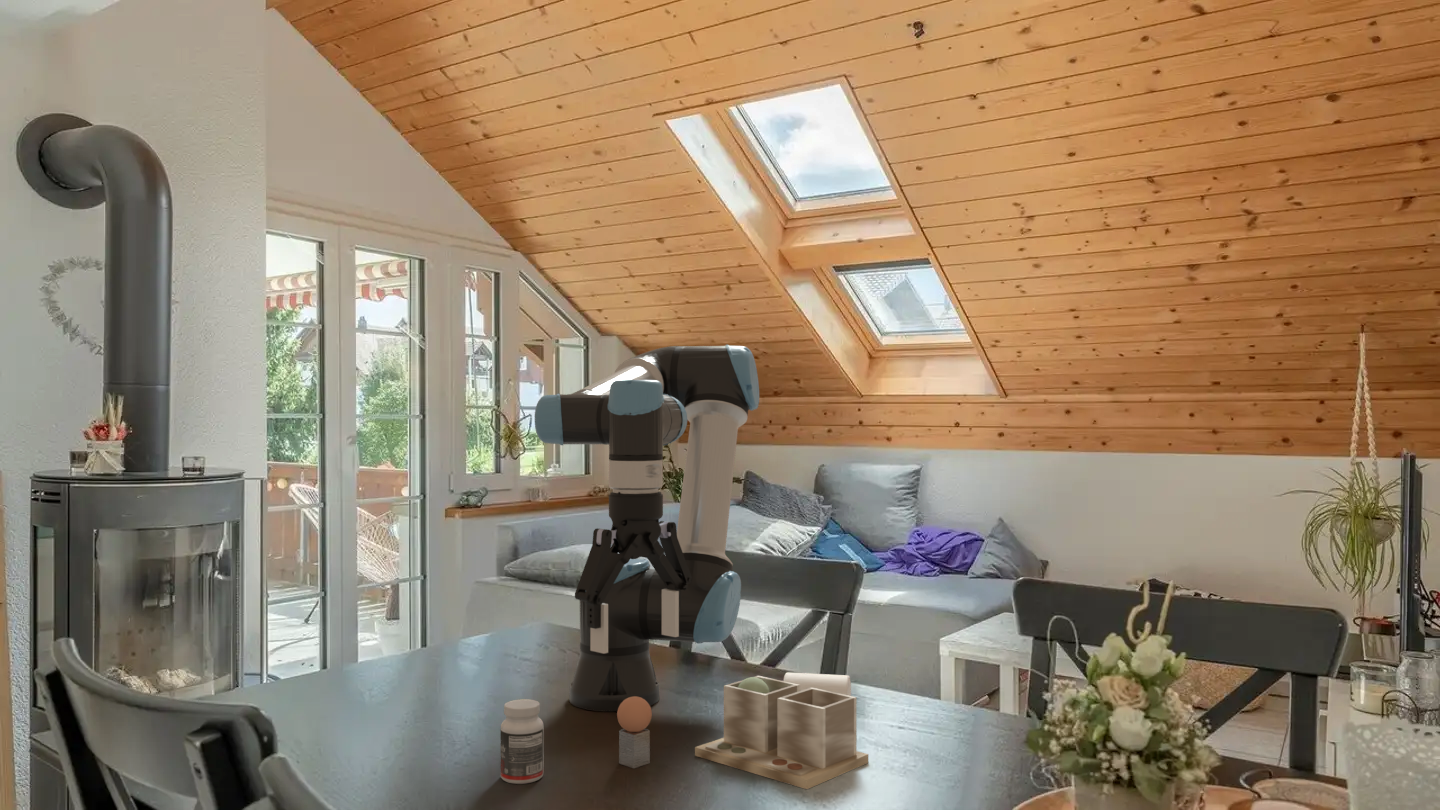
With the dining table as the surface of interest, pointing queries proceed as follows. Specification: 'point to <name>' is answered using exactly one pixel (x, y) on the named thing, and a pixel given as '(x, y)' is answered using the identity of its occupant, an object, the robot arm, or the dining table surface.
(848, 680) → the mug
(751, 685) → the ball sage upper
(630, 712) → the ball terracotta
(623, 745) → the post
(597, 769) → the dining table surface
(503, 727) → the pill bottle
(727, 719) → the rack
